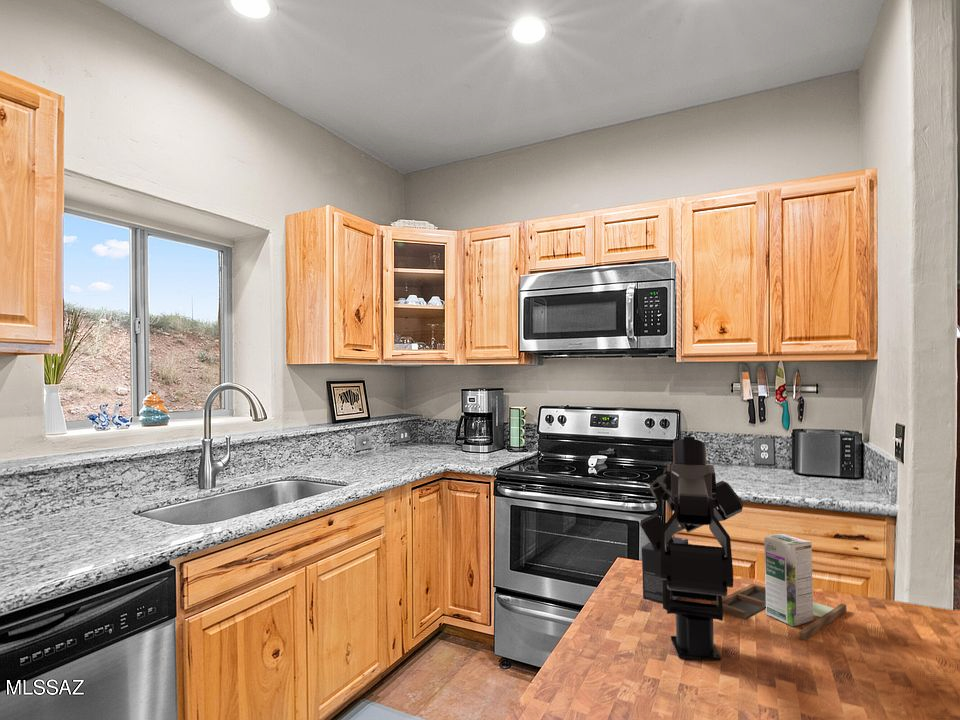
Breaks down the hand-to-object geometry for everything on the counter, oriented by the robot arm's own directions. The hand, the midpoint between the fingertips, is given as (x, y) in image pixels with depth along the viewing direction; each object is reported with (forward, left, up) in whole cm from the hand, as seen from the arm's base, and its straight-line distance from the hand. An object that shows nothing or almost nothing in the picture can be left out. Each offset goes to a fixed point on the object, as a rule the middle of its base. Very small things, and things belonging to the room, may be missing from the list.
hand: (690, 529), depth 111 cm
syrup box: (-9, -15, -13) cm, 22 cm away
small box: (0, +5, -13) cm, 14 cm away
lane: (-6, -15, -13) cm, 20 cm away
